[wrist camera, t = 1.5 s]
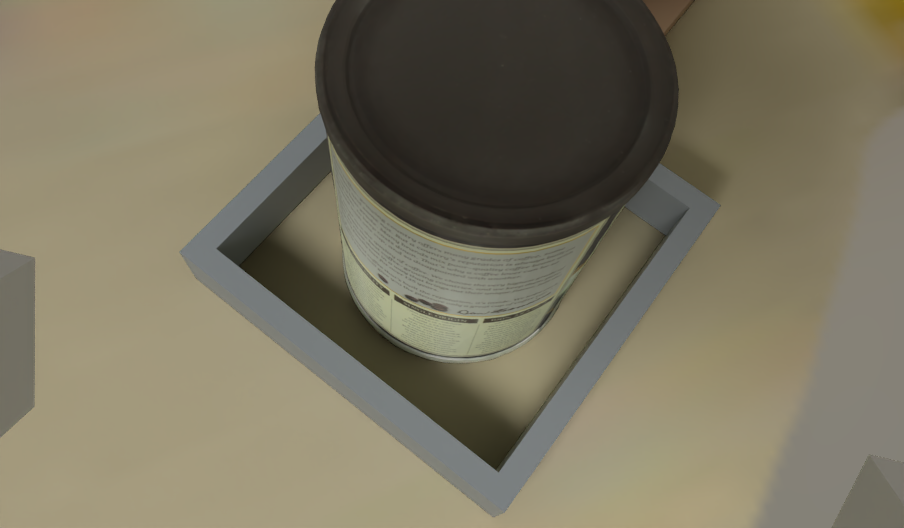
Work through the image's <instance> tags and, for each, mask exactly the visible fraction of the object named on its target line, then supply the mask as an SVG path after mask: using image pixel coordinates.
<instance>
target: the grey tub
mask: <svg viewBox="0 0 904 528" xmlns="http://www.w3.org/2000/svg"><path fill="white" fill-rule="evenodd" d="M330 171H331V162H330V158H329V149H328V142H327V134H326V129H325V126H324V123H323V120H322V116H321V113H320V114H319V115H318V116H317V117H316V118H315V119H314V120H313V121H312V122H311V123H310V124H309V125H308V126H307V127H306V128H304V129H303V130H302V131H301V132H300V133H299V134H298V135H297V136H296V137H295V138H294V139H293V140H292V141H291V142H290V143H289V144H288V145H287V146H286V147H285V148H284V149H283V150H282V151H281V152H280V153H279V154H278V155H277V156H276V157H275V158H274V159H273V160H272V161H271V162H270V163H269V164H268V165H267V166H266V167H265V168H264V169H263V170H262V171H261V172H260V173H259V174H258V175H257V176H256V177H255V178H254V179H253V180H252V181H251V182H250V183H249V184H248V185H247V186H246V187H245V188H244V189H243V190H242V191H241V192H240V193H239V194H238V195H237V196H236V197H235V198H234V199H233V200H231V201H230V202H229V203H228V204H227V205H226V206H225V207H224V208H223V209H222V210H221V211H220V212H219V213H218V214H217V215H216V216H215V217H214V218H213V219H212V220H211V221H210V222H209V223H208V224H207V225H206V226H205V227H204V228H203V229H202V230H201V231H200V232H199V233H198V234H197V235H196V236H195V237H194V238H193V239H192V240H191V241H190V242H189V243H188V244H187V245H186V246H185V247H184V248H183V249H182V250H181V251H180V254H181V255H182V257H183V259H184V260H185V262H186V263H187V265H188V266H189V268H190V270H191V271H192V273H193V274H194V276H195V277H196V279H198V280H199V281H200V282H201V283H203V284H204V285H205V286H206V287H208V288H209V289H210V290H211V291H213V292H214V293H215V294H216V295H218V296H219V297H220V298H221V299H222V300H224V301H225V302H226V303H227V304H229V305H230V306H231V307H232V308H234V309H235V310H236V311H237V312H239V313H240V314H241V315H242V316H244V317H245V318H246V319H247V320H249V321H250V322H251V323H252V324H254V325H255V326H256V327H257V328H259V329H260V330H261V331H262V332H264V333H265V334H266V335H267V336H268V337H270V338H271V339H272V340H273V341H275V342H276V343H277V344H278V345H280V346H281V347H282V348H283V349H285V350H286V351H287V352H288V353H290V354H291V355H292V356H293V357H295V358H296V359H297V360H298V361H300V362H301V363H302V364H303V365H305V366H306V367H307V368H308V369H309V370H311V371H312V372H313V373H314V374H316V375H317V376H318V377H319V378H321V379H322V380H323V381H324V382H326V383H327V384H328V385H329V386H331V387H332V388H333V389H334V390H336V391H337V392H338V393H339V394H341V395H342V396H343V397H344V398H346V399H347V400H348V401H349V402H350V403H352V404H353V405H354V406H355V407H357V408H358V409H359V410H360V411H362V412H363V413H364V414H365V415H367V416H368V417H369V418H370V419H372V420H373V421H374V422H375V423H377V424H378V425H379V426H380V427H382V428H383V429H384V430H385V431H387V432H388V433H389V434H390V435H392V436H393V437H394V438H395V439H396V440H398V441H399V442H400V443H401V444H403V445H404V446H405V447H406V448H408V449H409V450H410V451H411V452H413V453H414V454H415V455H416V456H418V457H419V458H420V459H421V460H423V461H424V462H425V463H426V464H428V465H429V466H430V467H431V468H433V469H434V470H435V471H436V472H437V473H439V474H440V475H441V476H442V477H444V478H445V479H446V480H447V481H449V482H450V483H451V484H452V485H454V486H455V487H456V488H457V489H459V490H460V491H461V492H462V493H464V494H465V495H466V496H467V497H469V498H470V499H471V500H472V501H474V502H475V503H476V504H477V505H478V506H480V507H481V508H482V509H483V510H485V511H486V512H487V513H488V514H490V515H491V516H492V517H495V516H498V515H500V514H502V513H505V511H506V510H507V508H508V507H509V505H510V504H511V503H512V501H513V500H514V498H515V497H516V496H517V494H518V493H519V491H520V490H521V488H522V487H523V486H524V484H525V483H526V481H527V480H528V478H529V477H530V476H531V474H532V473H533V471H534V470H535V469H536V467H537V466H538V464H539V463H540V461H541V460H542V459H543V457H544V456H545V454H546V453H547V451H548V450H549V449H550V447H551V446H552V444H553V443H554V442H555V440H556V439H557V437H558V436H559V434H560V433H561V432H562V430H563V429H564V427H565V426H566V424H567V423H568V422H569V420H570V419H571V417H572V416H573V415H574V413H575V412H576V410H577V409H578V407H579V406H580V405H581V403H582V402H583V400H584V399H585V397H586V396H587V395H588V393H589V392H590V390H591V389H592V388H593V386H594V385H595V383H596V382H597V380H598V379H599V378H600V376H601V375H602V373H603V372H604V370H605V369H606V368H607V366H608V365H609V363H610V362H611V361H612V359H613V358H614V356H615V355H616V353H617V352H618V351H619V349H620V348H621V346H622V345H623V343H624V342H625V341H626V339H627V338H628V336H629V335H630V334H631V332H632V331H633V329H634V328H635V326H636V325H637V324H638V322H639V321H640V319H641V318H642V316H643V315H644V314H645V312H646V311H647V309H648V308H649V307H650V305H651V304H652V302H653V301H654V299H655V298H656V297H657V295H658V294H659V292H660V291H661V290H662V288H663V287H664V285H665V284H666V282H667V281H668V280H669V278H670V277H671V275H672V274H673V272H674V271H675V270H676V268H677V267H678V265H679V264H680V263H681V261H682V260H683V258H684V257H685V255H686V254H687V253H688V251H689V250H690V248H691V247H692V245H693V244H694V243H695V241H696V240H697V238H698V237H699V236H700V234H701V233H702V231H703V230H704V228H705V227H706V226H707V224H708V223H709V221H710V220H711V218H712V217H713V216H714V214H715V213H716V211H717V210H718V209H719V207H720V206H721V205H720V204H718V203H717V202H716V201H714V200H713V199H711V198H710V197H708V196H707V195H705V194H704V193H702V192H701V191H699V190H698V189H697V188H695V187H694V186H692V185H691V184H689V183H688V182H686V181H685V180H683V179H682V178H681V177H679V176H678V175H676V174H675V173H673V172H672V171H670V170H669V169H667V168H666V167H664V166H663V165H662V164H660V163H659V164H658V166H657V168H656V169H655V170H654V172H653V173H652V175H651V176H650V178H649V179H648V180H647V182H646V183H645V184H644V185H643V186H642V188H641V189H640V190H639V191H638V192H637V194H636V195H635V196H634V197H633V198H631V199H630V200H629V202H628V203H627V204H626V205H625V206H624V207H626V208H627V209H629V210H630V211H632V212H633V213H634V214H636V215H637V216H639V217H640V218H642V219H643V220H644V221H646V222H647V223H649V224H650V225H651V226H653V227H654V228H656V229H657V230H659V231H660V232H661V233H663V234H664V235H666V236H665V237H664V239H663V240H662V242H661V243H660V244H659V246H658V247H657V249H656V250H655V251H654V253H653V254H652V255H651V257H650V258H649V260H648V261H647V262H646V264H645V265H644V266H643V268H642V269H641V271H640V272H639V273H638V275H637V276H636V277H635V279H634V280H633V282H632V283H631V284H630V286H629V287H628V289H627V290H626V291H625V293H624V294H623V295H622V297H621V298H620V300H619V301H618V302H617V304H616V305H615V306H614V308H613V309H612V311H611V312H610V313H609V315H608V316H607V318H606V319H605V320H604V322H603V323H602V324H601V326H600V327H599V329H598V330H597V331H596V333H595V334H594V335H593V337H592V338H591V340H590V341H589V342H588V344H587V345H586V347H585V348H584V349H583V351H582V352H581V353H580V355H579V356H578V358H577V359H576V360H575V362H574V363H573V364H572V366H571V367H570V369H569V370H568V371H567V373H566V374H565V375H564V377H563V378H562V380H561V381H560V382H559V384H558V385H557V387H556V388H555V389H554V391H553V392H552V393H551V395H550V396H549V398H548V399H547V400H546V402H545V403H544V404H543V406H542V407H541V409H540V410H539V411H538V413H537V414H536V416H535V417H534V418H533V420H532V421H531V422H530V424H529V425H528V427H527V428H526V429H525V431H524V432H523V433H522V435H521V436H520V438H519V439H518V440H517V442H516V443H515V444H514V446H513V447H512V449H511V450H510V451H509V453H508V454H507V456H506V457H505V458H504V460H503V461H502V462H501V464H500V465H499V467H498V468H497V469H496V470H495V469H493V468H492V467H491V466H490V465H488V464H487V463H486V462H485V461H483V460H482V459H481V458H480V457H478V456H477V455H476V454H474V453H473V452H472V451H471V450H469V449H468V448H467V447H466V446H464V445H463V444H462V443H461V442H459V441H458V440H457V439H456V438H454V437H453V436H452V435H451V434H449V433H448V432H447V431H445V430H444V429H443V428H442V427H440V426H439V425H438V424H437V423H435V422H434V421H433V420H432V419H430V418H429V417H428V416H427V415H425V414H424V413H423V412H421V411H420V410H419V409H418V408H416V407H415V406H414V405H413V404H411V403H410V402H409V401H408V400H406V399H405V398H404V397H403V396H401V395H400V394H399V393H397V392H396V391H395V390H394V389H392V388H391V387H390V386H389V385H387V384H386V383H385V382H384V381H382V380H381V379H380V378H379V377H377V376H376V375H375V374H373V373H372V372H371V371H370V370H368V369H367V368H366V367H365V366H363V365H362V364H361V363H360V362H358V361H357V360H356V359H355V358H353V357H352V356H351V355H350V354H348V353H347V352H346V351H344V350H343V349H342V348H341V347H339V346H338V345H337V344H336V343H334V342H333V341H332V340H331V339H329V338H328V337H327V336H326V335H324V334H323V333H322V332H320V331H319V330H318V329H317V328H315V327H314V326H313V325H312V324H310V323H309V322H308V321H307V320H305V319H304V318H303V317H302V316H300V315H299V314H298V313H296V312H295V311H294V310H293V309H291V308H290V307H289V306H288V305H286V304H285V303H284V302H283V301H281V300H280V299H279V298H278V297H276V296H275V295H274V294H273V293H271V292H270V291H269V290H267V289H266V288H265V287H264V286H262V285H261V284H260V283H259V282H257V281H256V280H255V279H254V278H252V277H251V276H250V275H249V274H247V273H246V272H245V271H243V270H242V269H241V268H240V267H238V266H239V265H240V264H241V263H242V262H243V261H244V260H245V259H246V258H247V257H248V256H249V255H250V254H251V253H252V252H253V251H254V250H255V249H256V248H257V247H258V246H259V245H260V244H261V243H262V241H263V240H264V239H265V238H266V237H267V236H268V235H269V234H270V233H271V232H272V231H273V230H274V229H275V228H276V227H277V226H278V225H279V224H280V223H281V222H282V221H283V220H284V219H285V218H286V217H287V216H288V215H289V214H290V213H291V212H292V211H293V210H294V208H295V207H296V206H297V205H298V204H299V203H300V202H301V201H302V200H303V199H304V198H305V197H306V196H307V195H308V194H309V193H310V192H311V191H312V190H313V189H314V188H315V187H316V186H317V185H318V184H319V183H320V182H321V181H322V180H323V179H324V178H325V176H326V175H327V174H328V173H329V172H330Z"/></svg>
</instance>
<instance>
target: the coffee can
mask: <svg viewBox="0 0 904 528" xmlns="http://www.w3.org/2000/svg"><path fill="white" fill-rule="evenodd" d="M315 82H316V93H317V99H318V105H319V110H320V113H321V116H322V120H323V123H324V126H325V129H326V134H327V142H328V149H329V158H330V162H331V172H332V177H333V184H334V189H335V195H336V203H337V211H338V219H339V226H340V233H341V243H342V248H343V268H344V275H345V279H346V283H347V286H348V288H349V291H350V293H351V296H352V298H353V300H354V302H355V304H356V305H357V307H358V309H359V310H360V312H361V313H362V314H363V316H364V317H365V318H366V320H367V321H368V322H369V323H370V324H371V325H372V326H373V327H374V328H375V329H376V330H377V331H378V332H379V333H380V334H381V335H382V336H383V337H385V338H386V339H387V340H389V341H390V342H391V343H393V344H394V345H395V346H397V347H399V348H401V349H403V350H405V351H407V352H409V353H412V354H415V355H417V356H419V357H422V358H425V359H429V360H433V361H439V362H444V363H472V362H479V361H486V360H492V359H495V358H497V357H499V356H501V355H504V354H507V353H510V352H512V351H513V350H515V349H517V348H519V347H520V346H522V345H524V344H526V343H527V342H528V341H529V340H531V339H532V338H533V337H534V336H535V335H537V334H538V333H539V332H540V331H541V330H542V329H543V328H544V326H545V325H546V324H547V323H548V322H549V321H550V319H551V318H552V316H553V315H554V313H555V311H556V310H557V309H558V306H559V303H560V301H561V299H562V298H563V296H564V295H565V293H566V292H567V290H568V289H569V288H570V286H571V285H572V283H573V282H574V280H575V279H576V277H577V276H578V274H579V273H580V271H581V270H582V268H583V267H584V266H585V264H586V263H587V261H588V260H589V258H590V257H591V256H592V254H593V252H594V251H595V249H596V248H597V246H598V245H599V243H600V241H601V240H602V239H603V237H604V236H605V234H606V233H607V231H608V230H609V228H610V227H611V225H612V224H613V222H614V221H615V219H616V218H617V216H618V215H619V214H620V212H621V211H622V209H623V208H624V206H625V205H626V204H627V203H628V202H629V200H630V199H631V198H633V197H634V196H635V195H636V194H637V192H638V191H639V190H640V189H641V188H642V186H643V185H644V184H645V183H646V182H647V180H648V179H649V178H650V176H651V175H652V173H653V172H654V170H655V169H656V168H657V166H658V164H659V163H660V161H661V159H662V157H663V155H664V154H665V151H666V149H667V147H668V144H669V142H670V139H671V135H672V132H673V130H674V127H675V122H676V116H677V109H678V91H679V88H678V79H677V72H676V66H675V62H674V59H673V56H672V52H671V49H670V47H669V45H668V42H667V40H666V38H665V36H664V33H663V31H662V29H661V27H660V26H659V24H658V22H657V21H656V19H655V17H654V16H653V14H652V13H651V11H650V10H649V9H648V7H647V6H646V4H645V3H644V2H643V0H336V1H335V3H334V4H333V6H332V8H331V10H330V12H329V14H328V16H327V18H326V21H325V23H324V26H323V29H322V31H321V34H320V38H319V41H318V46H317V52H316V60H315Z"/></svg>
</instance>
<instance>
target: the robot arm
mask: <svg viewBox="0 0 904 528" xmlns="http://www.w3.org/2000/svg"><path fill="white" fill-rule="evenodd" d="M34 385H35V258H34V257H30V256H26V255H22V254H17V253H13V252H9V251H5V250H0V437H2V436H3V435H4V434H5V433H6V432H7V431H8V430H9V429H10V428H11V427H13V426H14V425H15V424H16V423H17V422H18V421H19V420H20V419H21V418H22V417H24V416H25V415H26V414H27V413H28V412H29V411H30V410H31V409H32V408H33V407H34ZM832 528H904V463H903V462H899V461H895V460H891V459H886V458H882V457H878V456H873V455H869V456H868V458H867V459H866V461H865V463H864V465H863V467H862V469H861V471H860V473H859V475H858V477H857V479H856V481H855V483H854V485H853V487H852V489H851V491H850V493H849V495H848V496H847V498H846V501H845V502H844V504H843V506H842V508H841V510H840V512H839V514H838V516H837V518H836V520H835V522H834V524H833V526H832Z"/></svg>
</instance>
